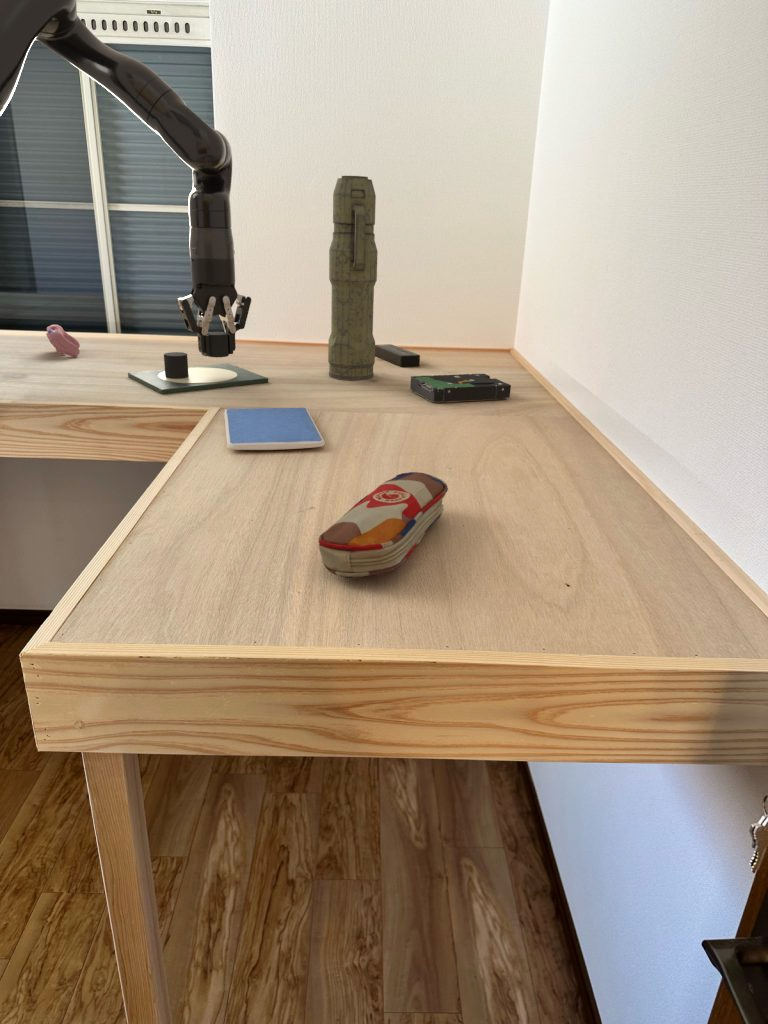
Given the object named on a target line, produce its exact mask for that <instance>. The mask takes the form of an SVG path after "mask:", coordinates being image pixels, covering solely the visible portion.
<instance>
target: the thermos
mask: <svg viewBox="0 0 768 1024" xmlns="http://www.w3.org/2000/svg"><path fill="white" fill-rule="evenodd" d="M374 187H375V186H374V184H373V180H372V179H370V178H369V177H368V176H363V175H341V177H338V178H337V180H336V182H335V186H334V189H333V193H332V224H333V232H332V240H331V243H330V246H329V251H328V253H329V254H328V255H329V256H328V258H329V259H328V271H329V272H328V280H329V282H330V285H331V316H330V317H331V318H330V319H331V324H330V325H331V326H330V328H331V331H330V335H329V338H328V343H327V344H328V345H327V346H328V349H327V350H328V351H327V352H328V354H327V361H328V364H329V371H328V376H329V377H330V378H333V379H337V380H343V381H364V380H370V379H373V378H374V375H375V373H374V366H375V363H376V356H375V345H376V341H375V337H374V335H373V333H374V300H375V297H374V296H375V285H376V283H377V280H378V248H377V245H376V240H375V236H376V235H375V234H376V233H375V225H376V202H377V201H376V199H377V197H376V196H377V195H376V191H375V188H374Z"/></svg>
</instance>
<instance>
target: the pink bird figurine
mask: <svg viewBox="0 0 768 1024" xmlns="http://www.w3.org/2000/svg"><path fill="white" fill-rule="evenodd" d="M46 331H47V332H46V333H45V335H46V337H47V339H48V341H49V343H50V344H51V345H52V346H53V347H54V349H55V351H56V352H57V353H59V354H60V355H63V354H65V355H67V356H71V357H78V356H79V355H80V346H81V344H80V341H78V339H76V337H74V336H72V335H71V334H69V333H68V332H66V331H65V330H64V328H63V327H62V326H61V325H59V324H51V325H49V326H47V327H46Z"/></svg>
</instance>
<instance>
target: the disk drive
mask: <svg viewBox="0 0 768 1024" xmlns="http://www.w3.org/2000/svg"><path fill="white" fill-rule="evenodd" d="M511 387H512V385H511V384H510V383H507V382H505V381H502V380H500V379H498V378H495V377H494V378H491V376H490V375H488V374H486V373H471V374H470V373H463V374H438V375H437V374H436V375H435V374H433V375H414V376H410V387H409V389H410V390H411V391H412V392H413V393H414V394H417V395H419V396H420V397H422V398H424V399H425V400H428V401H429V402H432V403H459V402H482V401H496V400H504V399H510V398H511V391H512V388H511Z"/></svg>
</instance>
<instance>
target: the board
mask: <svg viewBox="0 0 768 1024" xmlns="http://www.w3.org/2000/svg"><path fill="white" fill-rule="evenodd" d="M188 374H189V376H188V377H187V378H182V379H170V378H166V377H165V368H164V369H152V370H142V371H140V370H139V371H130V372H127V377H128V378H129V379H131V380H133V381H135V382H138V383H139V384H141V385H143V386H145V387H146V388H149V389H150V390H153V391H155V392H157V393H158V394H161V395H167V394H168V393H169V394H176V393H177V392H178V393H185V392H186V391H187V392H194V391H193V390H196V391H203V390H204V389H205V390H213V389H221V388H230V387H239V386H248V385H258V384H259V385H260V384H267V383H269V378H268V377H266V376H263V375H261V374H258V373H256V372H253V371H250V370H247V369H244V368H242V367H239V366H237V365H234V364H231V363H219V364H210V365H209V364H208V365H207V364H206V365H198V366H197V365H195V366H188ZM187 392H186V393H187Z"/></svg>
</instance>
